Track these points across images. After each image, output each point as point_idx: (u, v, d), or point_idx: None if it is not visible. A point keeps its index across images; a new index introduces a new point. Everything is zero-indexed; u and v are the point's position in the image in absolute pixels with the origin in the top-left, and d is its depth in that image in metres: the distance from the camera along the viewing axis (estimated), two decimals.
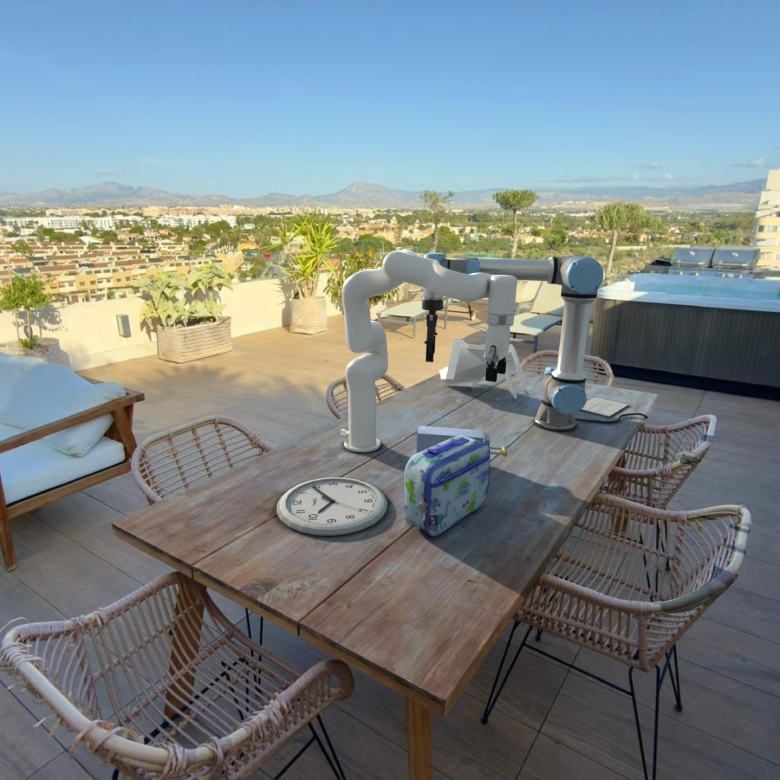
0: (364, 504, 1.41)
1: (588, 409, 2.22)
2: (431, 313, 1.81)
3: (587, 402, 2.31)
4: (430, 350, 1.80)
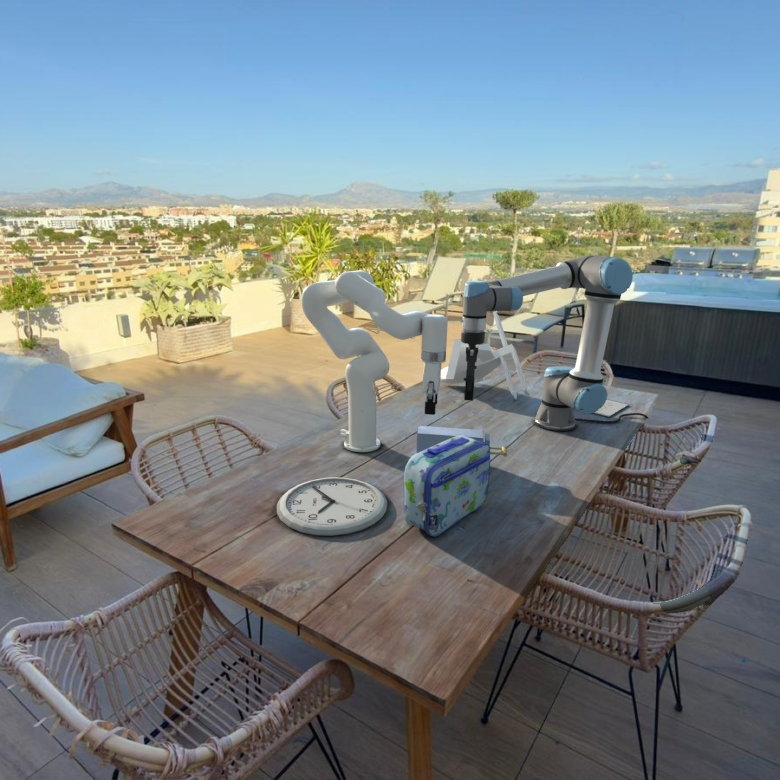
0: (364, 504, 1.41)
1: None
2: (471, 347, 1.65)
3: None
4: (470, 388, 1.64)
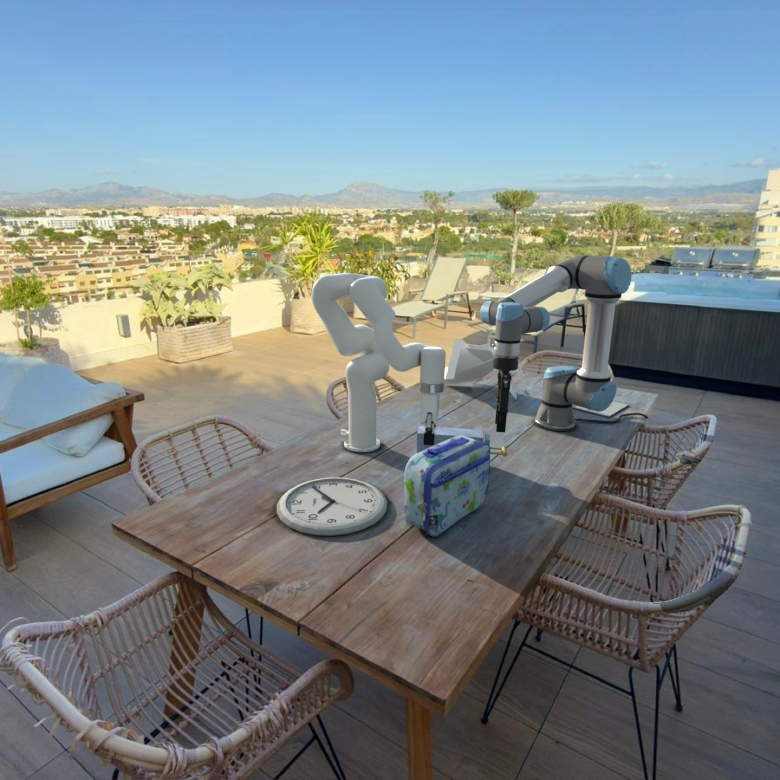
0: (364, 504, 1.41)
1: None
2: (505, 374, 1.54)
3: None
4: (502, 420, 1.56)
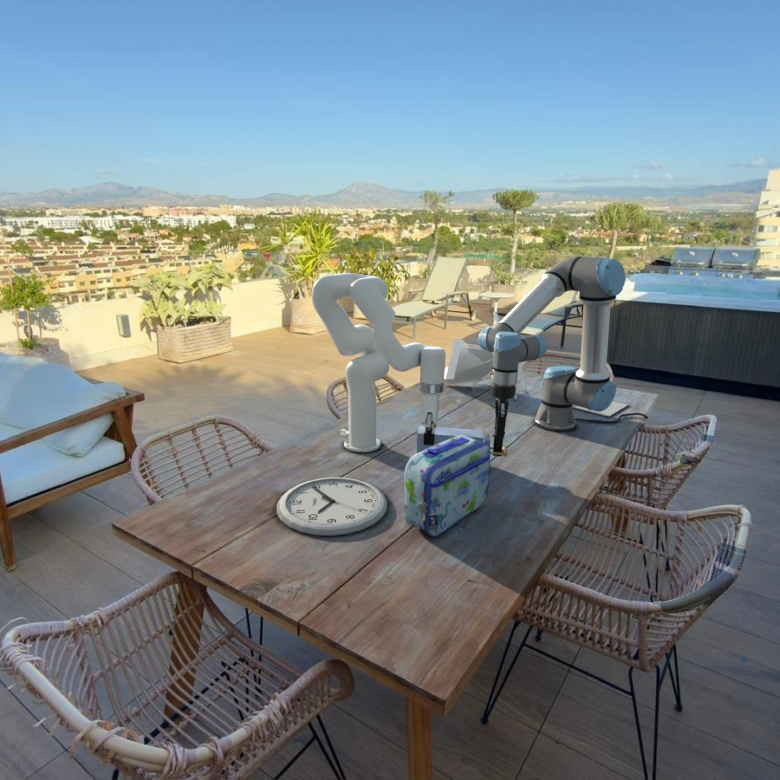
0: (364, 504, 1.41)
1: (588, 409, 2.22)
2: (502, 402, 1.56)
3: None
4: (499, 444, 1.62)
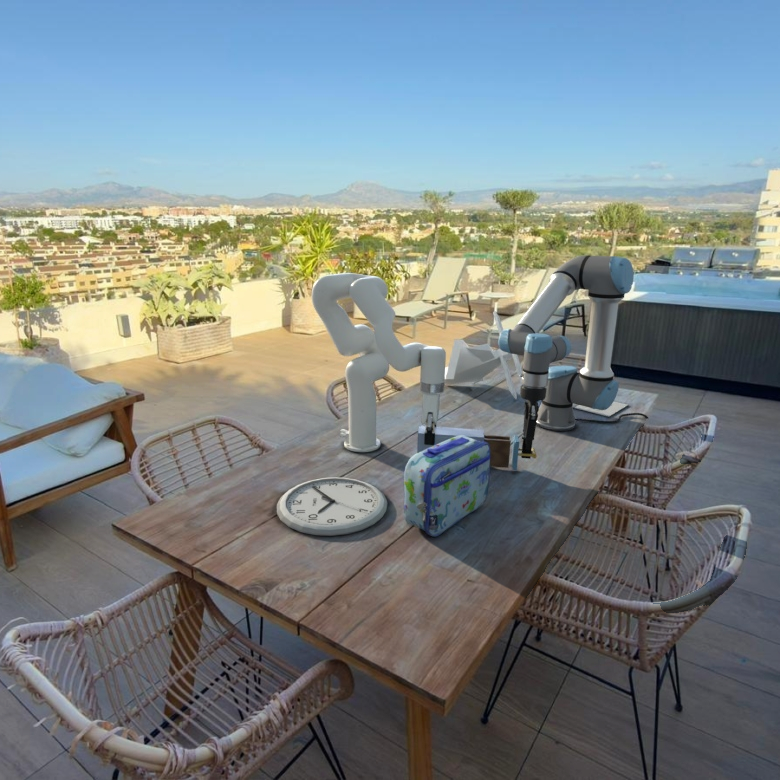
0: (364, 504, 1.41)
1: (588, 409, 2.22)
2: (533, 404, 1.55)
3: None
4: (528, 446, 1.61)
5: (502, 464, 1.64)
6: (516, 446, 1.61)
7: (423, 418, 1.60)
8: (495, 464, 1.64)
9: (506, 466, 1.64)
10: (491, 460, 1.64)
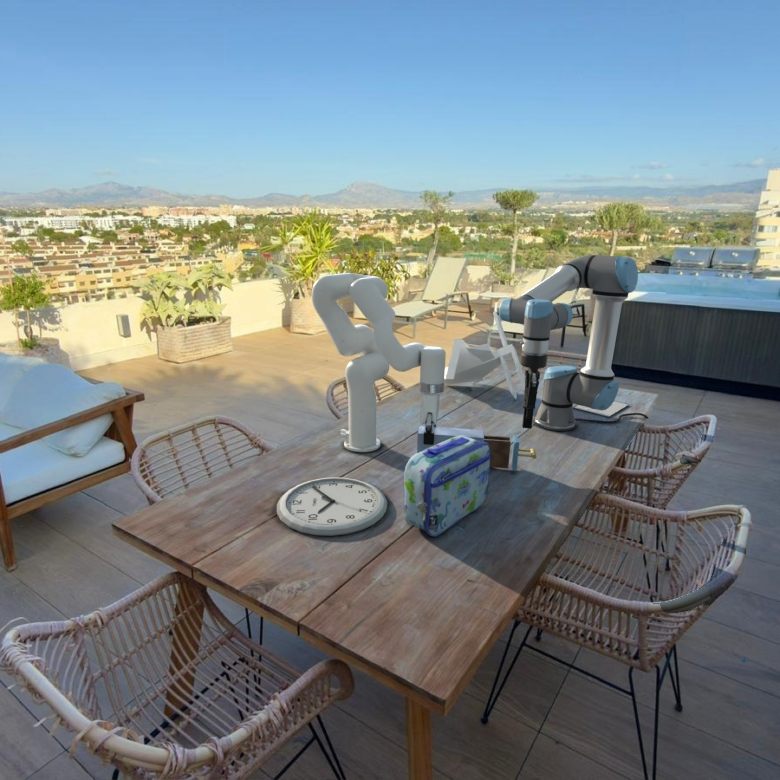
0: (364, 504, 1.41)
1: (588, 409, 2.22)
2: (533, 371, 1.52)
3: None
4: (529, 416, 1.58)
5: (502, 464, 1.64)
6: (516, 447, 1.61)
7: (422, 418, 1.60)
8: (495, 464, 1.64)
9: (506, 466, 1.64)
10: (491, 460, 1.64)
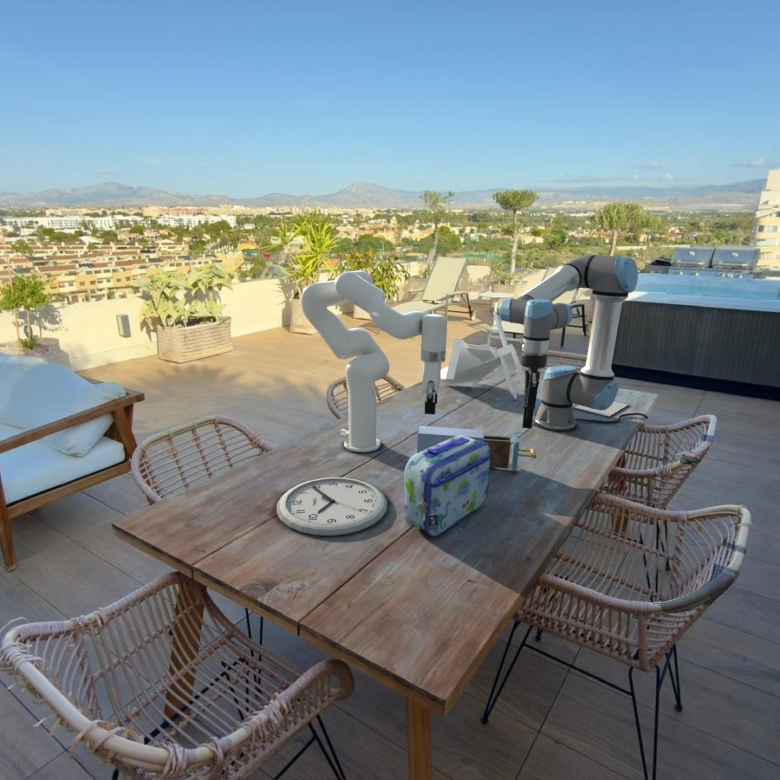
0: (364, 504, 1.41)
1: (588, 409, 2.22)
2: (533, 371, 1.52)
3: None
4: (529, 416, 1.58)
5: (502, 464, 1.64)
6: (516, 447, 1.61)
7: (424, 387, 1.57)
8: (495, 464, 1.64)
9: (506, 466, 1.64)
10: (491, 460, 1.64)
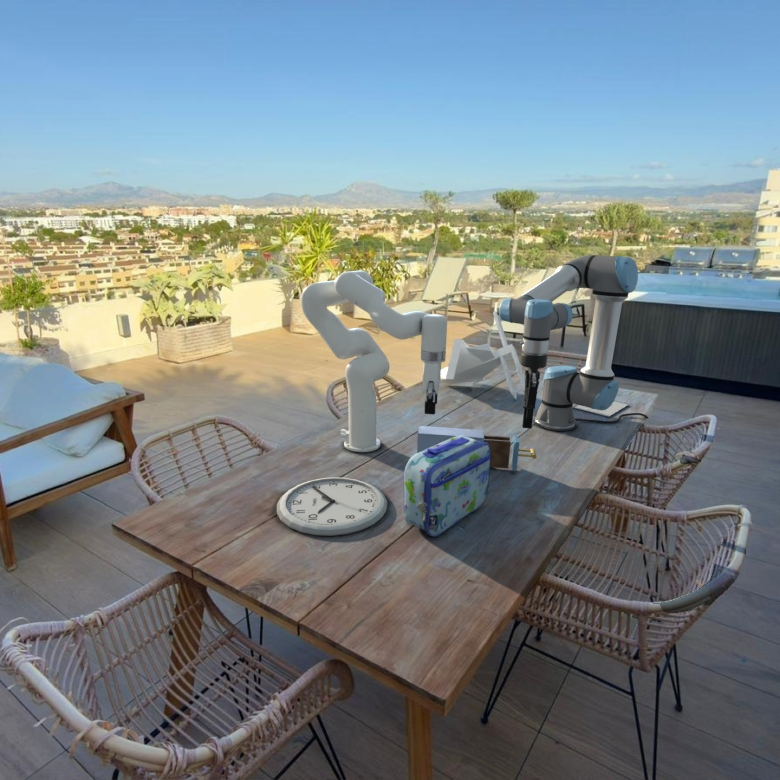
0: (364, 504, 1.41)
1: (588, 409, 2.22)
2: (533, 371, 1.52)
3: None
4: (529, 416, 1.58)
5: (502, 464, 1.64)
6: (516, 447, 1.61)
7: (424, 387, 1.57)
8: (495, 464, 1.64)
9: (506, 466, 1.64)
10: (491, 460, 1.64)
